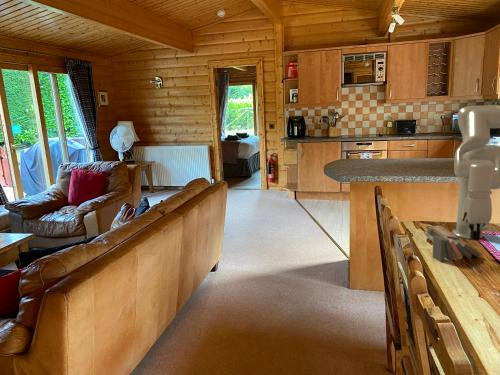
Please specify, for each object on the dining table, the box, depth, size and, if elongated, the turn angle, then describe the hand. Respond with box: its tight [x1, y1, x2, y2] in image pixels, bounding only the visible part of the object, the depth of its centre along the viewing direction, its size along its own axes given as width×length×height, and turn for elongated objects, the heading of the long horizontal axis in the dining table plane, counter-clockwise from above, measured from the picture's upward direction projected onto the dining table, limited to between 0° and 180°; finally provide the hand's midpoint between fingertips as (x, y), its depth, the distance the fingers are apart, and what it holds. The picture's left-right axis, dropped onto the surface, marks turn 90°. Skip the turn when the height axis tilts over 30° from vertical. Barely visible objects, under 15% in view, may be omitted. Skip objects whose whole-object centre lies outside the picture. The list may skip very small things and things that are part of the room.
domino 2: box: [438, 235, 455, 262], centre depth 151 cm, size 2×5×9 cm, turn 9°
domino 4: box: [450, 238, 473, 260], centre depth 152 cm, size 2×5×9 cm
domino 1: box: [432, 236, 446, 263], centre depth 150 cm, size 2×5×9 cm, turn 9°
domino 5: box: [456, 239, 482, 258], centre depth 152 cm, size 2×5×9 cm
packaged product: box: [423, 225, 460, 242], centre depth 172 cm, size 18×5×10 cm
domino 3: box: [444, 236, 464, 260], centre depth 151 cm, size 2×5×9 cm
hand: (474, 239), depth 152 cm, fingers closed
